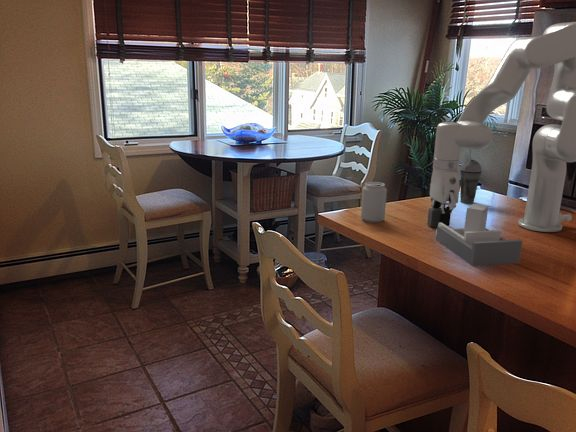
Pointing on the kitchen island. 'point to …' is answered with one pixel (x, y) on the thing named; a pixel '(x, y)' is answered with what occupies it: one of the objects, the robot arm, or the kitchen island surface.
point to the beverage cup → (469, 180)
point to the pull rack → (462, 229)
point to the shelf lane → (481, 249)
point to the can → (373, 202)
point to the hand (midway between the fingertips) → (439, 222)
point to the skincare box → (476, 218)
